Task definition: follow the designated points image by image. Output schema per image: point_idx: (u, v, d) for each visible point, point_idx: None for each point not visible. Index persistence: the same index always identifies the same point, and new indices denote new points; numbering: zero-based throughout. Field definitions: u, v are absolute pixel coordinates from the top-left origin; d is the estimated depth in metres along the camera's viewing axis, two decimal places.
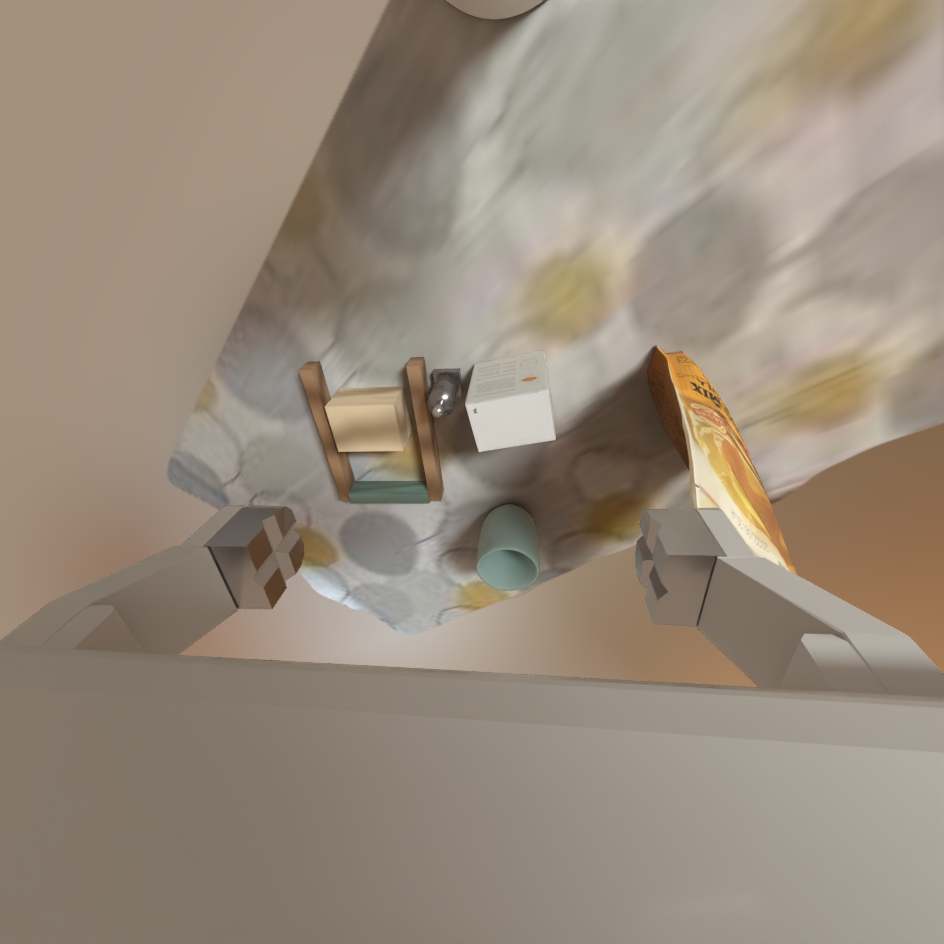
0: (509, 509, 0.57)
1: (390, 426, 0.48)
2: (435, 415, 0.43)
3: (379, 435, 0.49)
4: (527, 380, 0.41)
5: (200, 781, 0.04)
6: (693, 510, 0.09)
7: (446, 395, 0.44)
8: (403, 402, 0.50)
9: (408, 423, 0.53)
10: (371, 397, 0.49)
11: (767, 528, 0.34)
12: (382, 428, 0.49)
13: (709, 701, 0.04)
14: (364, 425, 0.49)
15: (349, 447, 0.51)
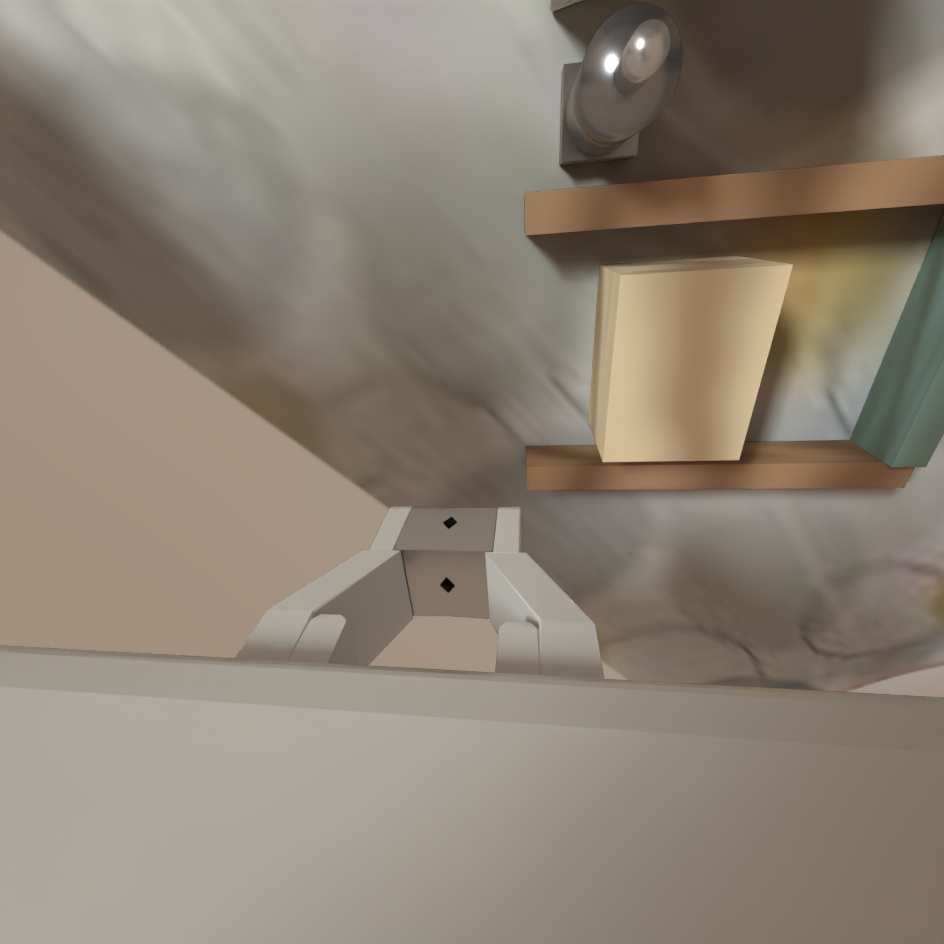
0: None
1: (690, 296, 0.16)
2: (658, 56, 0.11)
3: (715, 335, 0.17)
4: None
5: (200, 781, 0.04)
6: (494, 509, 0.09)
7: (598, 39, 0.12)
8: (637, 265, 0.19)
9: (707, 259, 0.19)
10: (603, 346, 0.19)
11: None
12: (693, 324, 0.17)
13: (711, 702, 0.04)
14: (673, 374, 0.18)
15: (733, 429, 0.19)
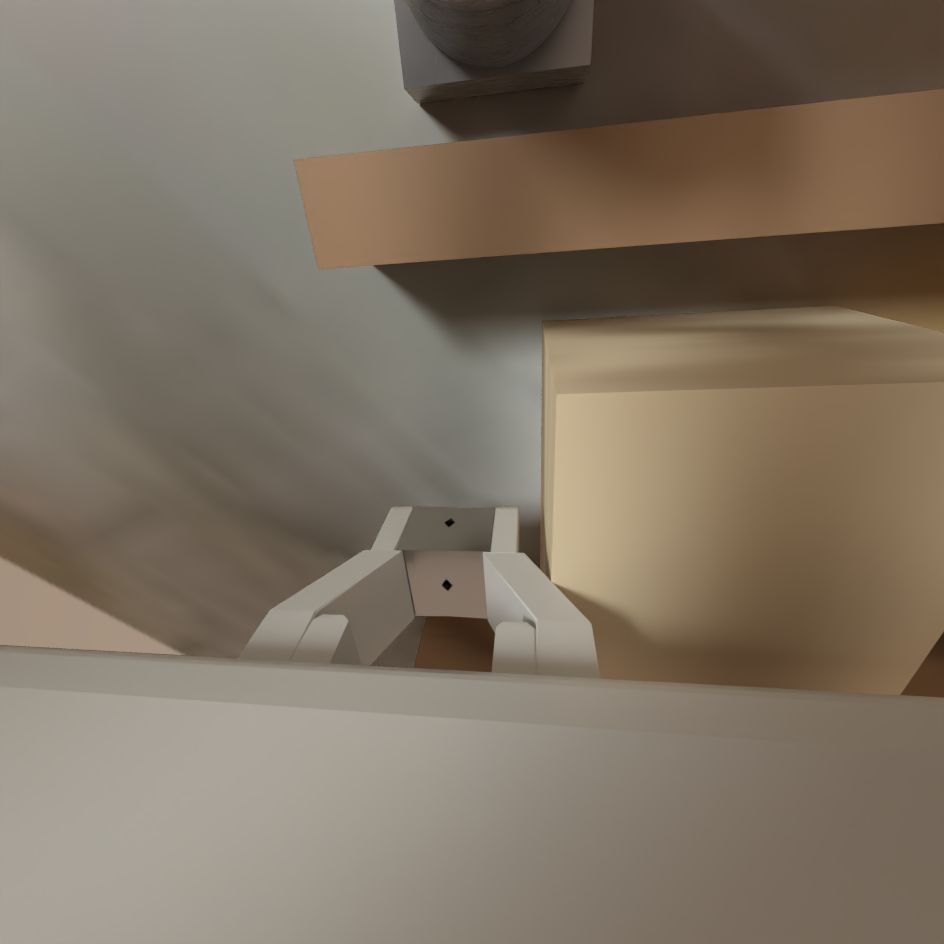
0: None
1: (763, 454, 0.05)
2: None
3: (826, 546, 0.06)
4: None
5: (200, 781, 0.04)
6: (492, 508, 0.09)
7: None
8: (620, 331, 0.08)
9: (781, 317, 0.08)
10: (546, 505, 0.09)
11: None
12: (767, 519, 0.06)
13: (711, 702, 0.04)
14: (705, 616, 0.07)
15: None
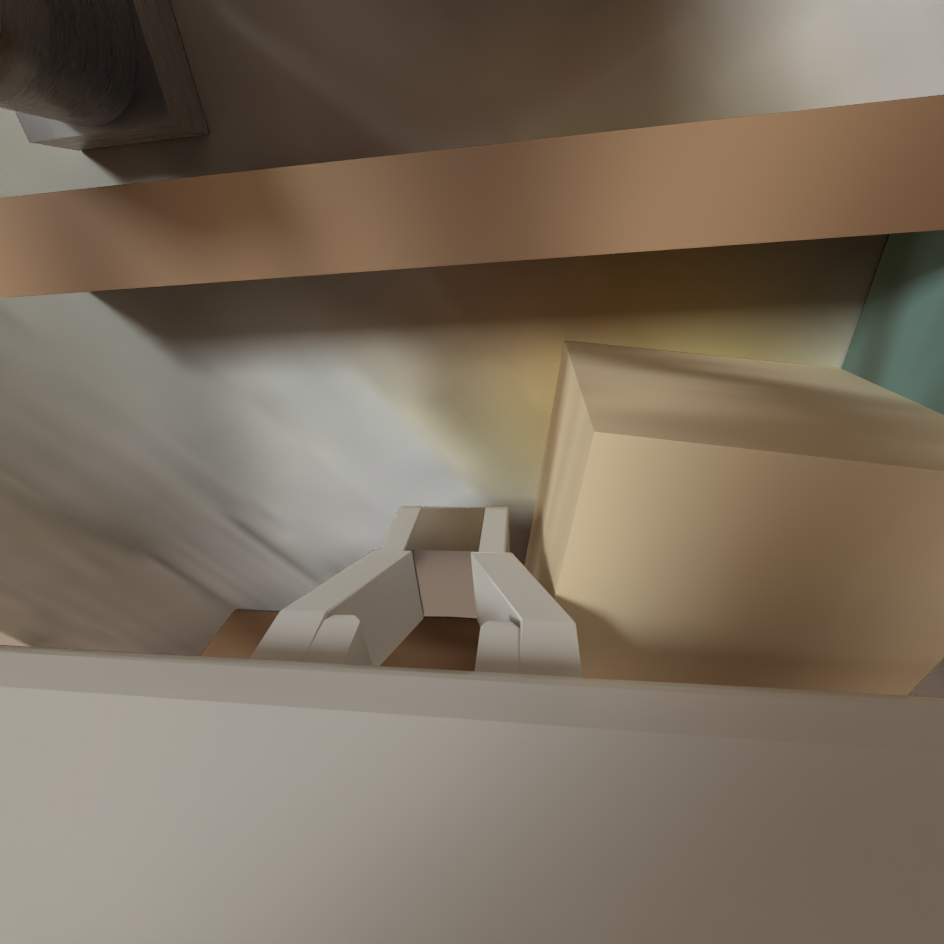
0: None
1: (780, 515, 0.06)
2: None
3: (820, 607, 0.06)
4: None
5: (200, 781, 0.04)
6: (481, 509, 0.09)
7: None
8: (645, 366, 0.08)
9: (795, 374, 0.09)
10: (546, 527, 0.09)
11: None
12: (771, 575, 0.06)
13: (710, 701, 0.04)
14: (693, 657, 0.07)
15: None
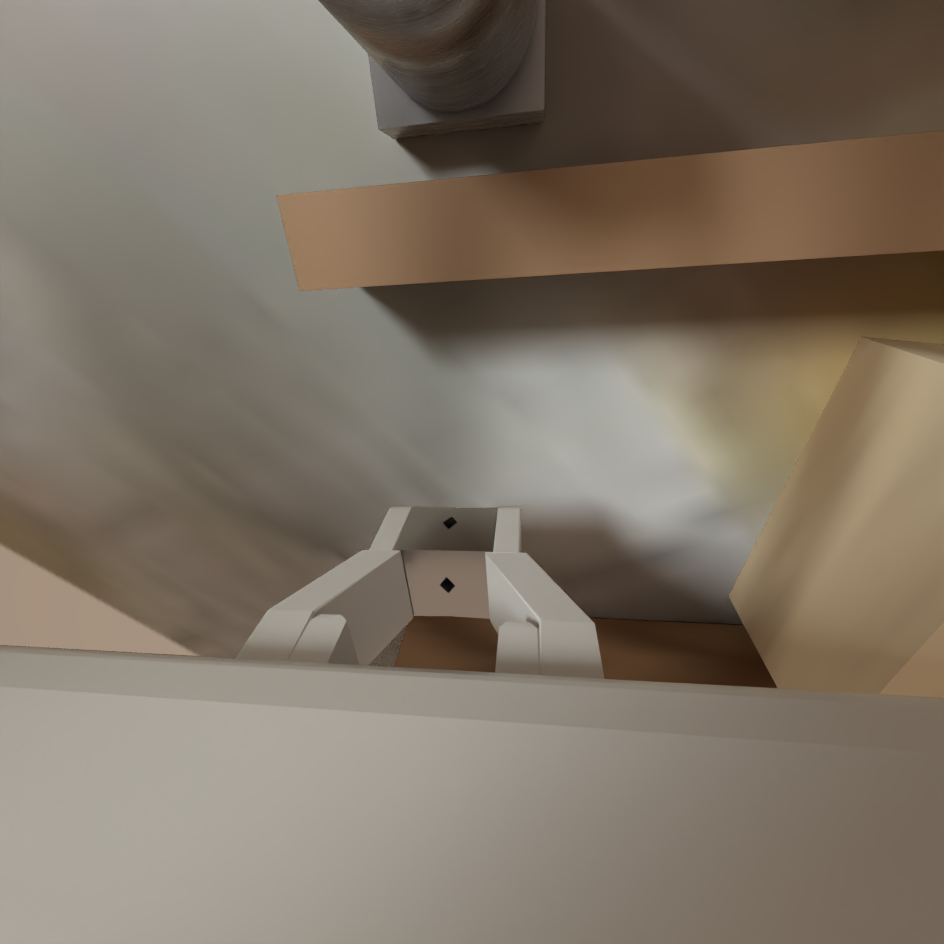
0: None
1: None
2: None
3: None
4: None
5: (200, 781, 0.04)
6: (494, 508, 0.09)
7: None
8: None
9: None
10: (868, 523, 0.09)
11: None
12: None
13: (710, 701, 0.04)
14: None
15: None
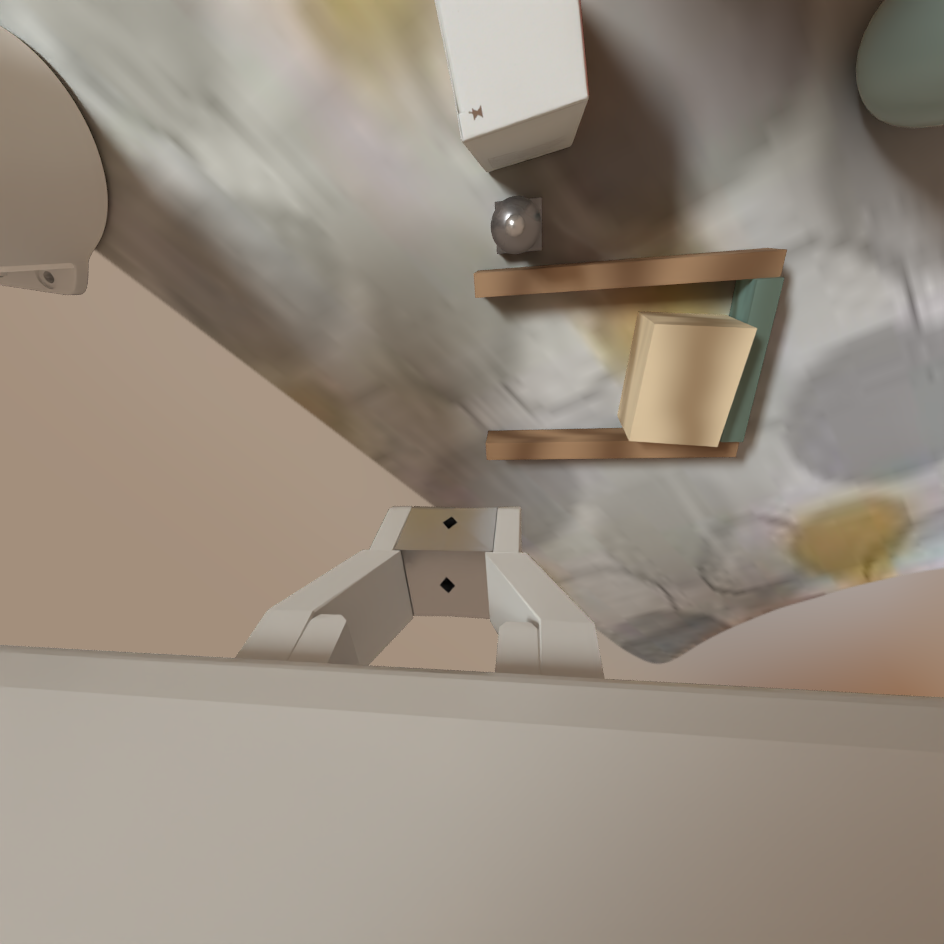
0: (869, 37, 0.21)
1: (695, 340, 0.27)
2: (519, 229, 0.22)
3: (708, 365, 0.27)
4: None
5: (200, 781, 0.04)
6: (494, 509, 0.09)
7: (497, 211, 0.23)
8: (664, 315, 0.29)
9: (708, 315, 0.29)
10: (636, 365, 0.30)
11: None
12: (696, 357, 0.27)
13: (709, 702, 0.04)
14: (680, 386, 0.28)
15: (715, 426, 0.29)
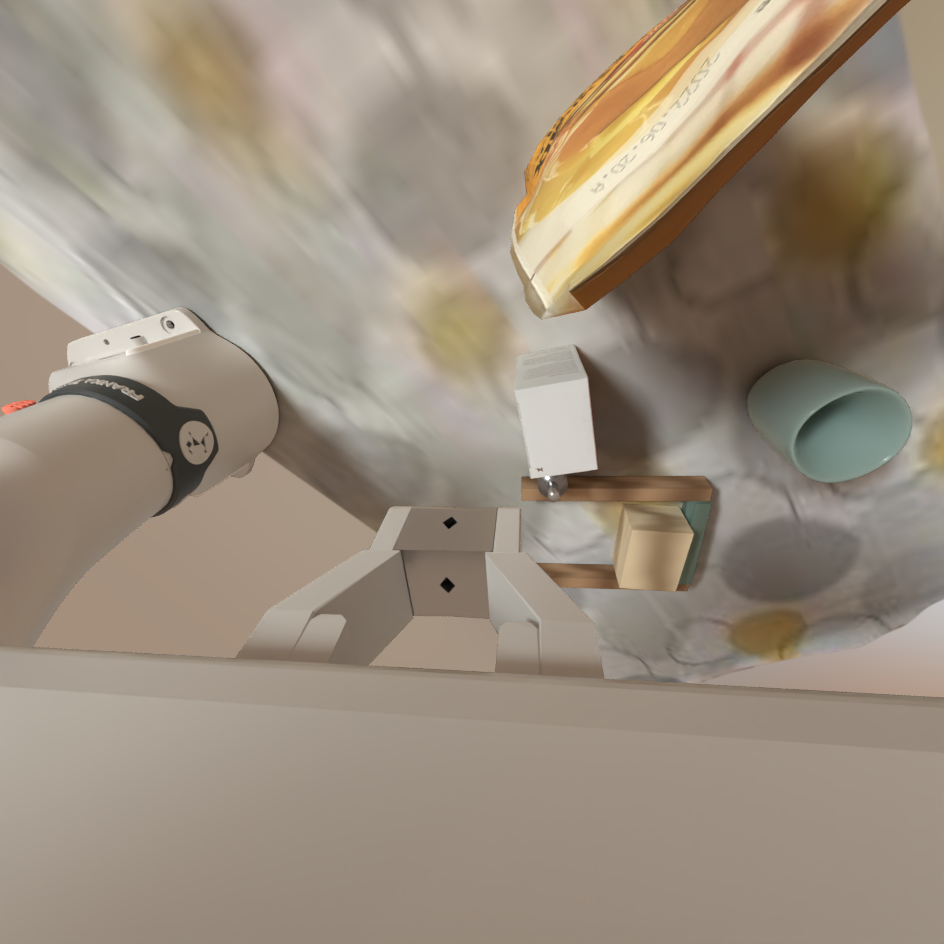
0: (750, 402, 0.38)
1: (657, 538, 0.44)
2: (556, 499, 0.39)
3: (666, 551, 0.44)
4: None
5: (200, 781, 0.04)
6: (494, 508, 0.09)
7: (542, 478, 0.40)
8: (639, 511, 0.46)
9: (667, 510, 0.46)
10: (622, 541, 0.47)
11: None
12: (658, 546, 0.44)
13: (709, 701, 0.04)
14: (650, 560, 0.45)
15: (673, 581, 0.46)
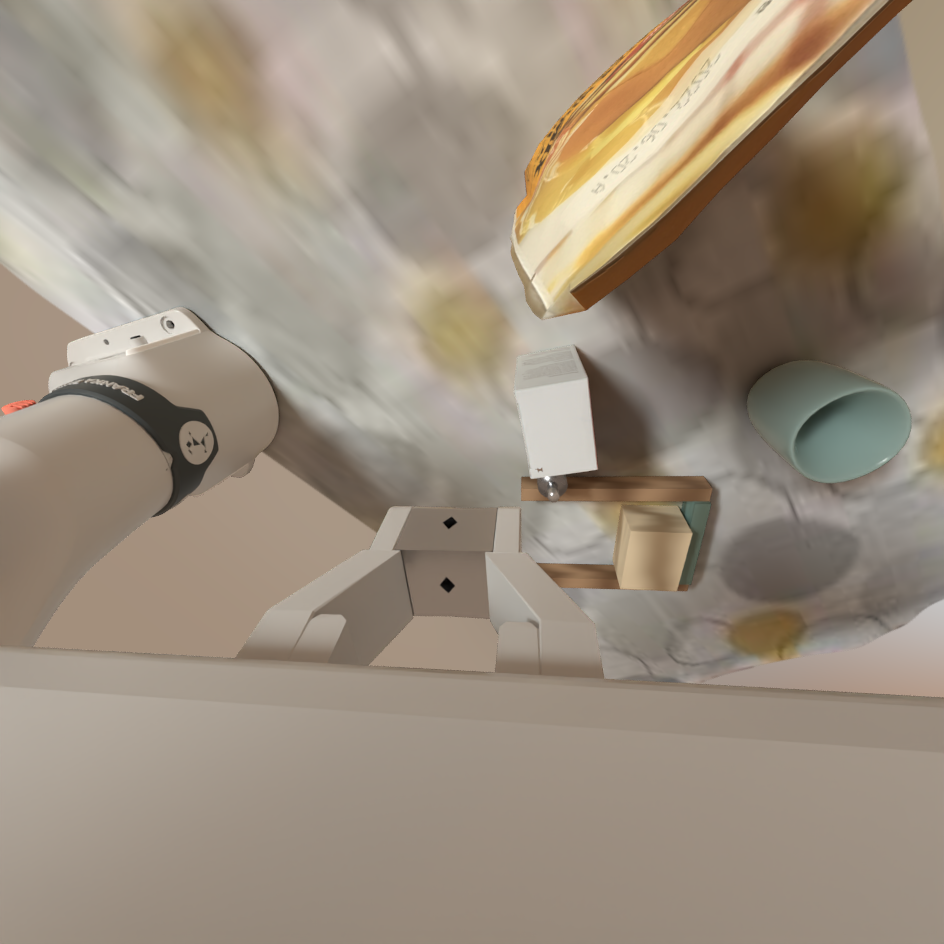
0: (750, 402, 0.38)
1: (656, 539, 0.44)
2: (556, 499, 0.39)
3: (665, 551, 0.44)
4: None
5: (200, 781, 0.04)
6: (494, 508, 0.09)
7: (542, 478, 0.40)
8: (637, 512, 0.46)
9: (666, 510, 0.46)
10: (622, 542, 0.47)
11: None
12: (657, 547, 0.44)
13: (711, 702, 0.04)
14: (649, 561, 0.45)
15: (673, 580, 0.46)
